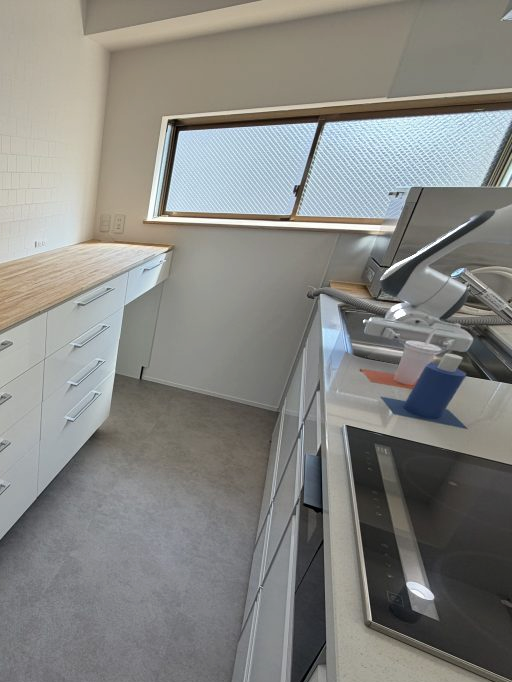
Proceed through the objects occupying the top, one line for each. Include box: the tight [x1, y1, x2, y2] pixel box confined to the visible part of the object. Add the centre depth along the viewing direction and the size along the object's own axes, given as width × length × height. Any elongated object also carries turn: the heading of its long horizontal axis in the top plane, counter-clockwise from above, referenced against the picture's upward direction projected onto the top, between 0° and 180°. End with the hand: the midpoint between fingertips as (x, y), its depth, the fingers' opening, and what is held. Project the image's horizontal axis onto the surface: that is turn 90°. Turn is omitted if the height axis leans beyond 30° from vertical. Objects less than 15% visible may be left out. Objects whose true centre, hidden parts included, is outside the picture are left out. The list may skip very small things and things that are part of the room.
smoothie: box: [394, 328, 442, 385], centre depth 99 cm, size 6×6×14 cm
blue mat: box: [380, 395, 469, 430], centre depth 89 cm, size 12×9×1 cm
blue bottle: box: [403, 353, 467, 419], centre depth 85 cm, size 6×6×13 cm
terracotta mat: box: [359, 368, 419, 390], centre depth 103 cm, size 13×9×1 cm
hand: (419, 341), depth 101 cm, fingers open, 8 cm apart
